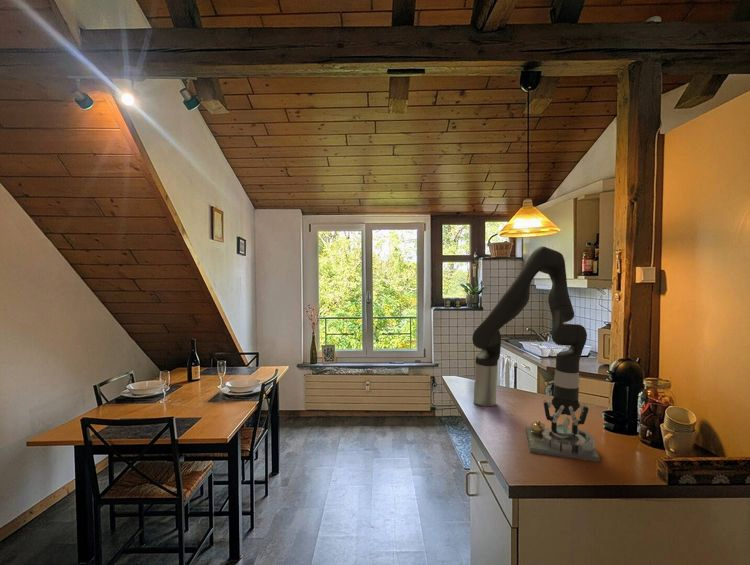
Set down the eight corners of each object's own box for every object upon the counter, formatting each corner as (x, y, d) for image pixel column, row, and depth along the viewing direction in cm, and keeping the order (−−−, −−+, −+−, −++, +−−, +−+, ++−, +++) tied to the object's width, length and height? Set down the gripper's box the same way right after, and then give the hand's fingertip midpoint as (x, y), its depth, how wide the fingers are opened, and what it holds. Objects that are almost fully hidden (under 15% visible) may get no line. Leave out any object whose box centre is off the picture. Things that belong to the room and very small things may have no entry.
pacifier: (556, 440, 134) (575, 440, 133) (556, 421, 133) (576, 421, 133) (548, 430, 141) (567, 431, 141) (549, 412, 141) (567, 413, 140)
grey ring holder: (530, 452, 132) (530, 435, 132) (525, 430, 150) (526, 415, 150) (599, 462, 127) (600, 445, 126) (586, 438, 144) (587, 422, 144)
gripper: (544, 384, 134) (542, 435, 135) (593, 389, 131) (590, 441, 132) (541, 378, 142) (539, 426, 143) (587, 383, 138) (585, 432, 139)
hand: (564, 433), depth 137 cm, fingers closed on pacifier, 5 cm apart
